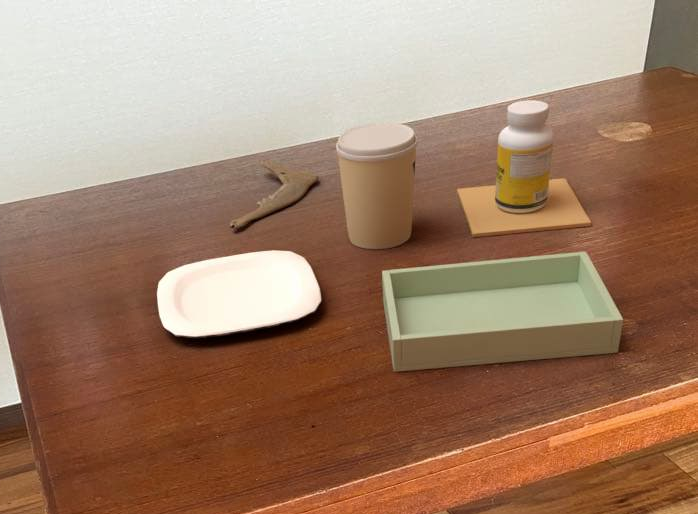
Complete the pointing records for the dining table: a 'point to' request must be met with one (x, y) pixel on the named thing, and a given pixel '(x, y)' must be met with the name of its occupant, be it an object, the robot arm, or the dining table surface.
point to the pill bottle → (524, 158)
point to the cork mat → (495, 221)
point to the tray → (498, 312)
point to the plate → (237, 294)
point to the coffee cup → (378, 183)
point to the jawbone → (280, 192)
